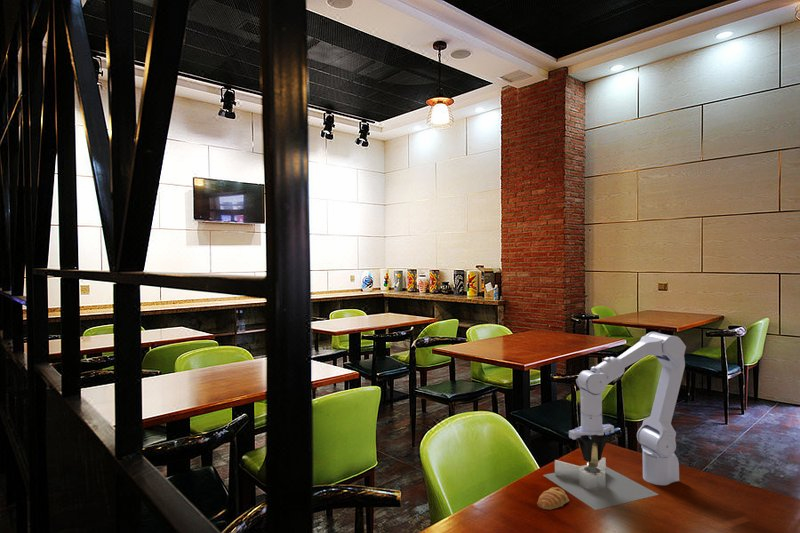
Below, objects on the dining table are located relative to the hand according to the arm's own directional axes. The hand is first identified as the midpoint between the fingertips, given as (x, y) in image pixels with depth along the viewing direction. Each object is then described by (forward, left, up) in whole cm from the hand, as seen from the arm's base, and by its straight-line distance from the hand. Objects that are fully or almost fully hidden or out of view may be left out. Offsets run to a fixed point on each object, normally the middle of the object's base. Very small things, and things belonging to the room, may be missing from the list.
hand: (592, 460), depth 137 cm
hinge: (-2, -3, -7) cm, 8 cm away
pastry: (+16, +3, -9) cm, 19 cm away
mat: (-2, 0, -8) cm, 9 cm away
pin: (0, 0, -1) cm, 1 cm away
